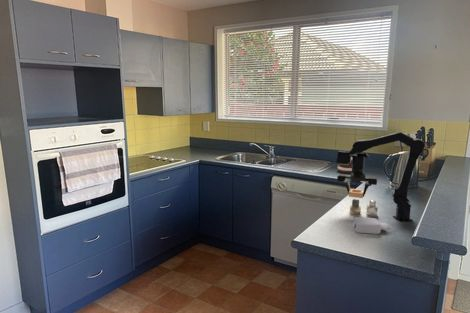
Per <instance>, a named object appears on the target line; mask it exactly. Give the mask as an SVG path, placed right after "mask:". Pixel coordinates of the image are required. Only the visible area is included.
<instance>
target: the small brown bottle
mask: <svg viewBox="0 0 470 313" xmlns="http://www.w3.org/2000/svg"><path fill="white" fill-rule="evenodd" d="M351 202H352V203H351V204H350V206H349V214H351V215H354V214H355V215H354V216H357V215H358V216H359V215H361V213H362V212H361V209H362V207H361V206H360V199H355V198H353V199H352V200H351Z"/></svg>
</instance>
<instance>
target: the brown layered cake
mask: <svg viewBox="0 0 470 313" xmlns="http://www.w3.org/2000/svg"><path fill="white" fill-rule="evenodd" d="M353 155H357V153H355V154H353ZM337 172H338V173H339V174H347V175H351V172H352V157H351V163H349V164H348V165H343V164H338V165H337Z"/></svg>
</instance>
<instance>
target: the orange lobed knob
mask: <svg viewBox="0 0 470 313" xmlns="http://www.w3.org/2000/svg"><path fill="white" fill-rule="evenodd" d="M378 212H379V206H377V200H373V199H371V200H369V204H368V205H366V212H365V214H366V217H369V218H375V217H378V214H379V213H378Z"/></svg>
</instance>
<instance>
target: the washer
mask: <svg viewBox="0 0 470 313" xmlns="http://www.w3.org/2000/svg"><path fill="white" fill-rule="evenodd" d="M363 192H364V189H357V188H350V191H349V194H348V197H350V198H359V199H363V198H364V197H363Z"/></svg>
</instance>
